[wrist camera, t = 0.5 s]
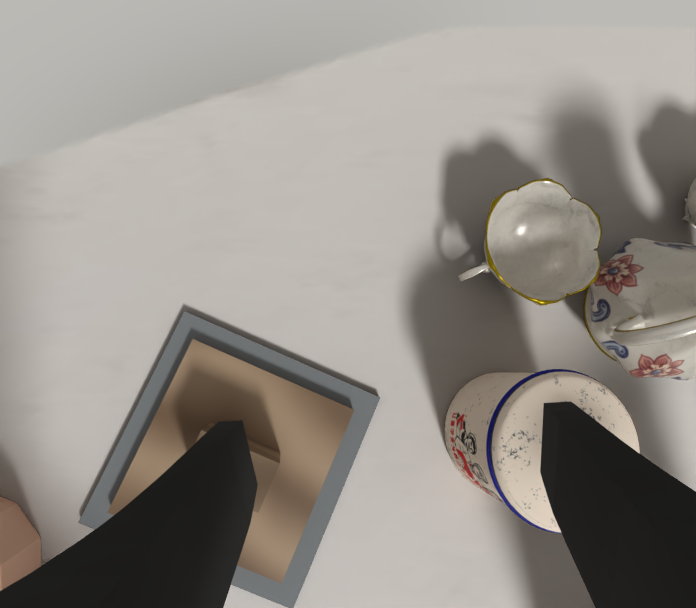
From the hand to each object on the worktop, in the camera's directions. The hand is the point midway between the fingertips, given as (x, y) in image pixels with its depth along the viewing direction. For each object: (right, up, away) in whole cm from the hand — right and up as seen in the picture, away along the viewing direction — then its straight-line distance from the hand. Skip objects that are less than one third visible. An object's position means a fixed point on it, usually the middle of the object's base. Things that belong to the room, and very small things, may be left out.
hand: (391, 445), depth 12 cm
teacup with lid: (+11, -7, +25) cm, 28 cm away
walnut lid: (-9, -7, +21) cm, 24 cm away
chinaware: (+21, +6, +28) cm, 35 cm away
